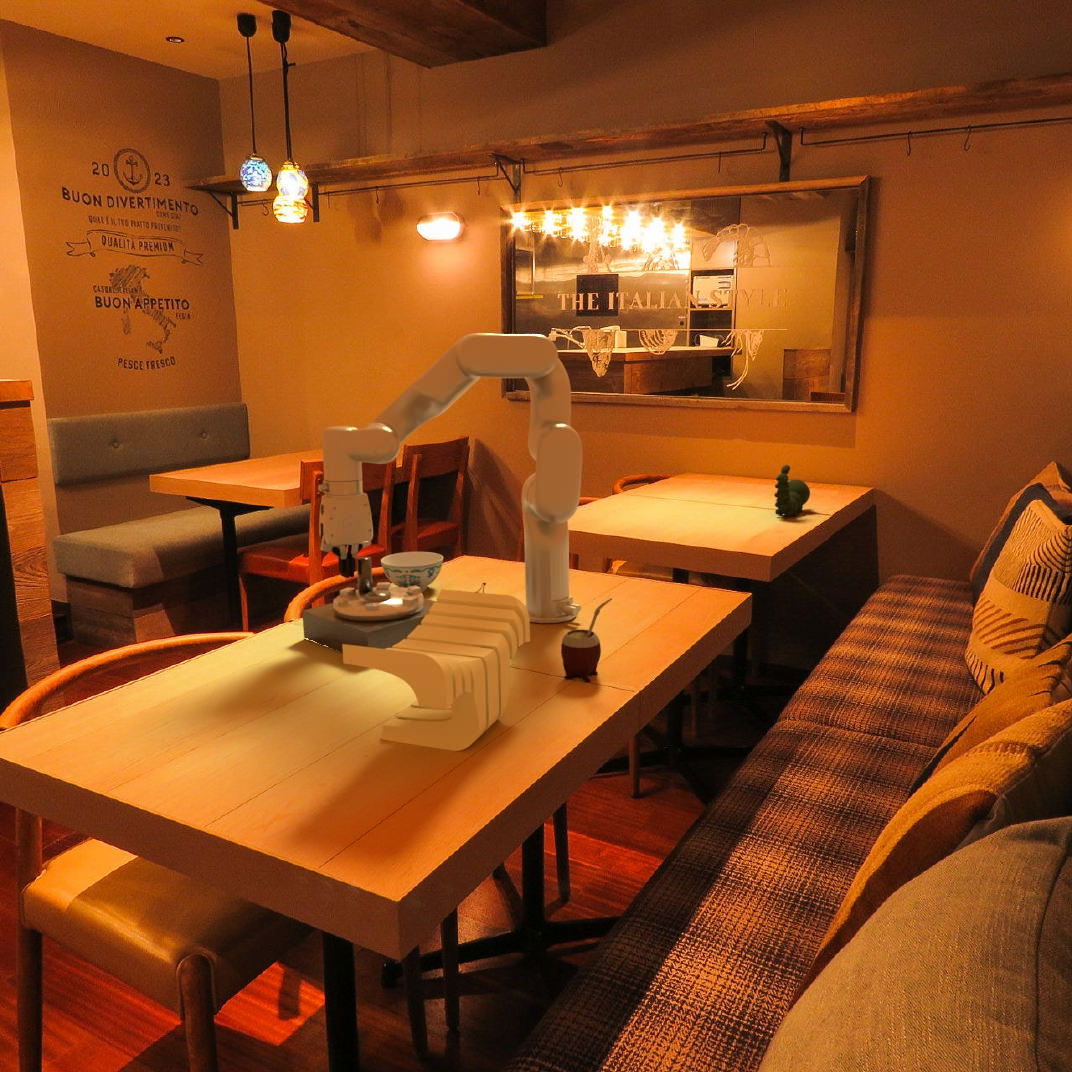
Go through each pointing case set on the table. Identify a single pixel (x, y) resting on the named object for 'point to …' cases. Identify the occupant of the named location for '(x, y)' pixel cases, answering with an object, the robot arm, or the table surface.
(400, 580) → the chinaware
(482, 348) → the robot arm
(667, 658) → the table surface
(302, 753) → the table surface
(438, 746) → the slatted curved stool
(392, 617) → the round turntable with post
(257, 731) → the table surface
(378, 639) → the housing
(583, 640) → the mate gourd
